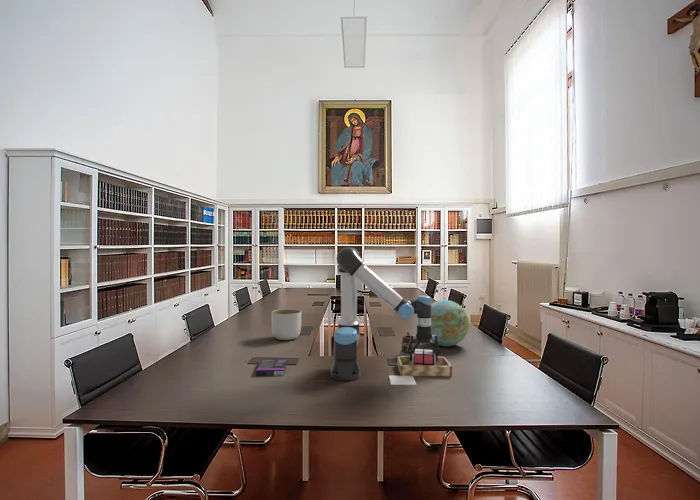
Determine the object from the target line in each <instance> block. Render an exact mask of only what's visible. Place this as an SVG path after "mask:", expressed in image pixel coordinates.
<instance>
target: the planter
mask: <svg viewBox="0 0 700 500" xmlns="http://www.w3.org/2000/svg"><path fill="white" fill-rule="evenodd" d="M270 314H271V332H272V335H273V336H274V338H276V339H277V340H278V341H292V340H295V339H297V338H298V336H299V335H300V333H301V330H302V314H303V313H302V310H300V309H296V308H281V309H280V308H279V309H274V310H272V311H271V313H270Z"/></svg>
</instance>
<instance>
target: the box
mask: <svg viewBox="0 0 700 500" xmlns="http://www.w3.org/2000/svg"><path fill="white" fill-rule="evenodd" d="M286 365H287V358H281V359H279V358H273V359H272V358H271V359H260V361H259V363H258V366H257V368H256V371H255V373H256V377H264V376H265V377H266V376H268V377H269V376H270V377H271V376H285V371H286Z"/></svg>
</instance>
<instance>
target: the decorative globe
mask: <svg viewBox="0 0 700 500" xmlns="http://www.w3.org/2000/svg"><path fill="white" fill-rule="evenodd" d="M431 305H432V306H431V325H430V326H431V335H436V336H437V341H438V344H439V346H441V347H452V346H455V345H458V344H459V343H461V342H462V341H464V339H465V338H466V336H467V334H468V333H469V330H470V329H469V328H470V320H469V316H468V314H467V312H466V310H465V309H464V308H463V307H462V306H461V305H460V304H459V303H457V302H455V301H453V300H447V299H441V300H440V299H439V300H437V301H434V302H433V303H431ZM430 342H431V343H434V344H435V341H434V339H433V338H431V339H430Z"/></svg>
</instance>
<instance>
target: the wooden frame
mask: <svg viewBox="0 0 700 500" xmlns="http://www.w3.org/2000/svg"><path fill="white" fill-rule="evenodd" d="M396 357H397V358H396V359H397V362H396V363H397V364H396V366H397V368H398V372H399V376H413V377H414V376H415V377H417V376H418V377H420V376H421V377H452V376H453V366H452V364H451V363H450V362H449V361H448V359H447V358H446V357H445V356H438V360H437V361H436V366H426V365H412V361H410V356H401V355H398V356H396Z"/></svg>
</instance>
